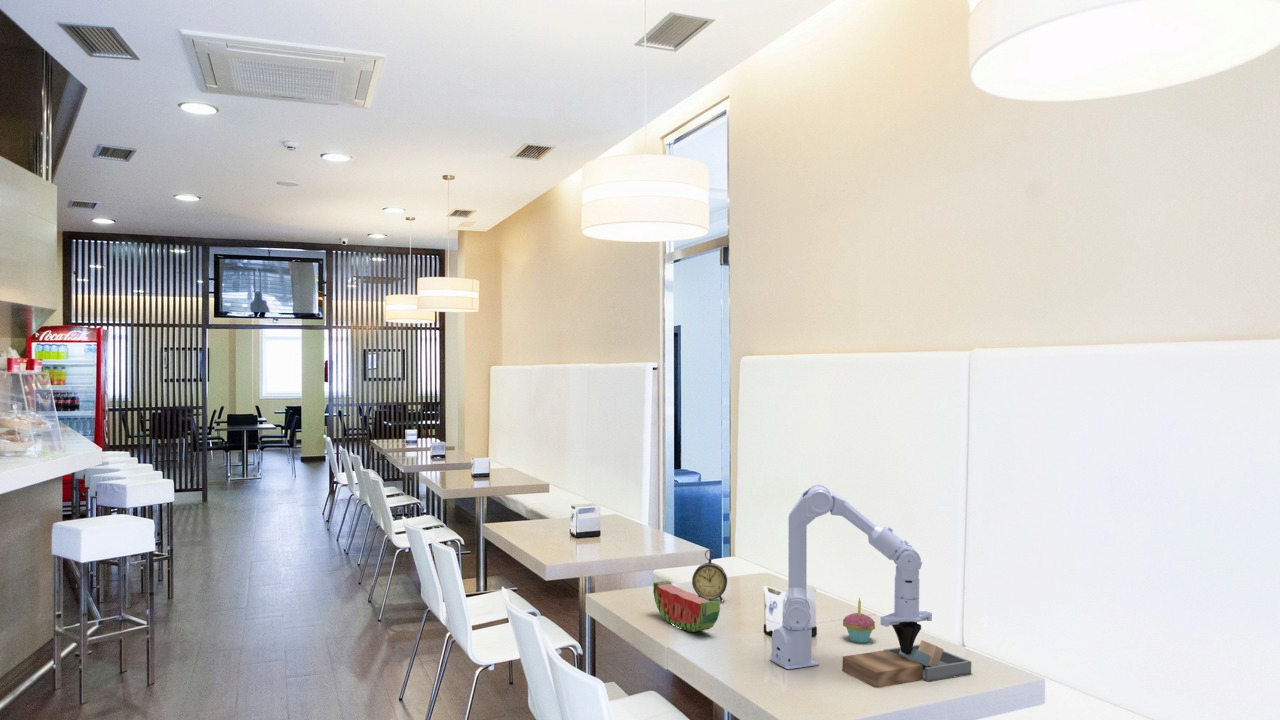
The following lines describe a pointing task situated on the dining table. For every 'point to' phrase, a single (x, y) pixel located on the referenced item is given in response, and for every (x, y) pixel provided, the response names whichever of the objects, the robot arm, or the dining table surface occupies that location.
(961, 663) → the tray
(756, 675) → the dining table surface
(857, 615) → the cupcake
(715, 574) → the alarm clock
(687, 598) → the fruit slice
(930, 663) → the tile sand
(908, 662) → the bench board
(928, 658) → the pale blue block
